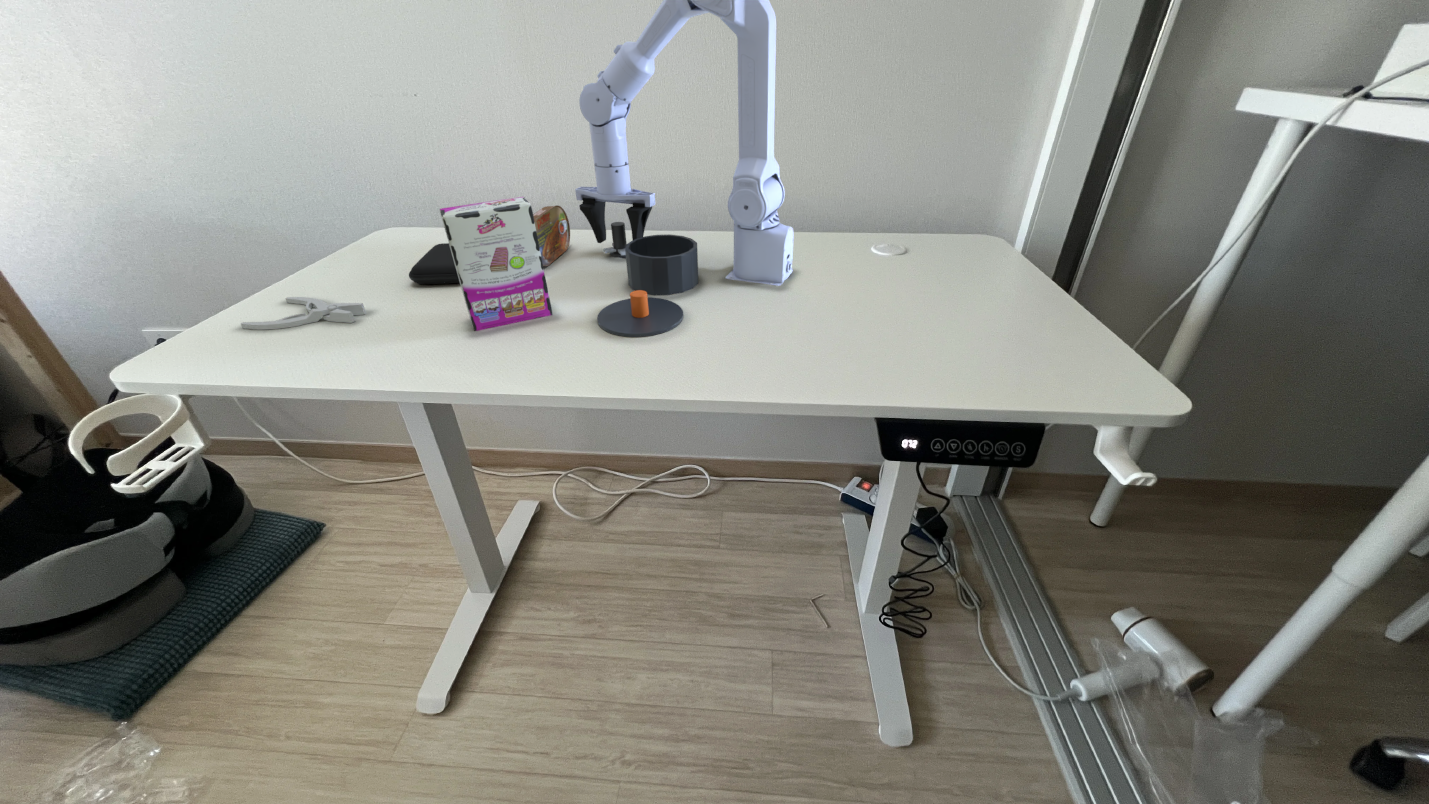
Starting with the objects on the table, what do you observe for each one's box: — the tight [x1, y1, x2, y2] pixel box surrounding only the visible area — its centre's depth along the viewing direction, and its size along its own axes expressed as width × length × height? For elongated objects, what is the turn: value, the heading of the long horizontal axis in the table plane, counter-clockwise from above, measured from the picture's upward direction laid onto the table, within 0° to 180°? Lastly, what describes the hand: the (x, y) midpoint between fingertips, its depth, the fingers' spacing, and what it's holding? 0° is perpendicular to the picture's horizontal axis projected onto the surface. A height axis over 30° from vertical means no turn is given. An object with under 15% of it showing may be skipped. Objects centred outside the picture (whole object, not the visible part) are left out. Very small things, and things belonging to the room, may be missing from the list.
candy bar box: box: [439, 196, 554, 332], centre depth 81 cm, size 11×5×16 cm, turn 117°
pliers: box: [240, 296, 367, 331], centre depth 87 cm, size 10×2×15 cm
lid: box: [596, 290, 684, 338], centre depth 83 cm, size 12×12×4 cm
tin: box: [533, 205, 571, 267], centre depth 104 cm, size 15×3×8 cm, turn 168°
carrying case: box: [408, 242, 460, 285], centre depth 101 cm, size 11×3×15 cm
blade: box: [602, 221, 628, 259], centre depth 105 cm, size 5×5×6 cm
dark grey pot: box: [625, 234, 699, 296], centre depth 94 cm, size 11×11×6 cm
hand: (619, 243), depth 106 cm, fingers open, 7 cm apart
